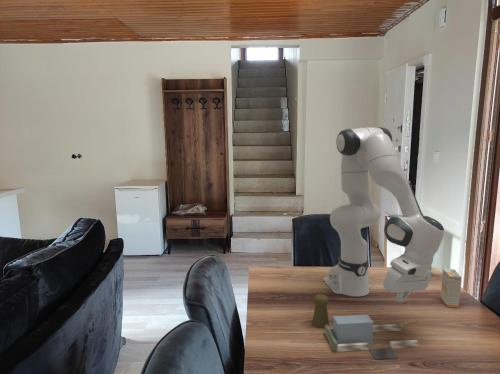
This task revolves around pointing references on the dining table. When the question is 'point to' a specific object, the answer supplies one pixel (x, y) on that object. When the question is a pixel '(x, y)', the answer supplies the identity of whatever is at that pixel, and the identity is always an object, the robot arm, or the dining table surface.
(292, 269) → the dining table surface
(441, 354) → the dining table surface
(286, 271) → the dining table surface
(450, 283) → the supplement box
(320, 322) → the cork
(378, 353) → the lane
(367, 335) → the grey brick
